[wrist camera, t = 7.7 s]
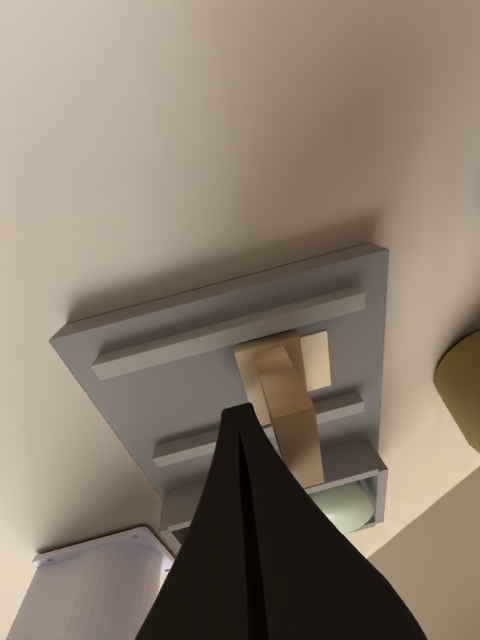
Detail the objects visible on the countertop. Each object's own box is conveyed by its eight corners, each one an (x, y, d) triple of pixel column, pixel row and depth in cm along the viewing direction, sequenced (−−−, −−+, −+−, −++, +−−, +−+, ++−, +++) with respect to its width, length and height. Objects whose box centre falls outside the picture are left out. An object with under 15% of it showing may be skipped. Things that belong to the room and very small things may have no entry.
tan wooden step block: (254, 418, 14) (272, 500, 10) (232, 346, 12) (246, 418, 8) (306, 404, 14) (343, 481, 10) (295, 329, 12) (338, 393, 8)
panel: (202, 532, 22) (202, 587, 19) (65, 323, 12) (17, 370, 9) (364, 488, 22) (390, 535, 19) (368, 242, 12) (425, 260, 9)
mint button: (300, 510, 19) (310, 543, 17) (293, 478, 17) (303, 511, 15) (357, 495, 19) (372, 526, 17) (356, 460, 17) (374, 492, 15)
